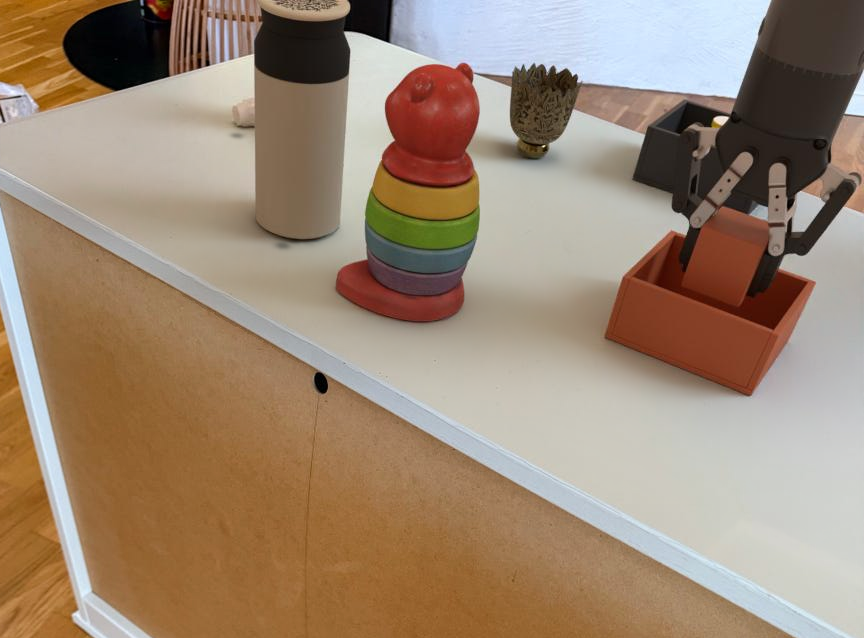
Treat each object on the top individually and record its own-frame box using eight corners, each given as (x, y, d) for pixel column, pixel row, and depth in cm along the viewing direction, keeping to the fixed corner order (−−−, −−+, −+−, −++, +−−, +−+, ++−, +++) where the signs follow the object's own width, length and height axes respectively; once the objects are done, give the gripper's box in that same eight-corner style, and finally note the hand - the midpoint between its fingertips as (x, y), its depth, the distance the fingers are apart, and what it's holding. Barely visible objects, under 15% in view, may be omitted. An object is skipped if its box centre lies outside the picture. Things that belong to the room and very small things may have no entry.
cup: (493, 138, 105) (507, 59, 99) (555, 142, 106) (572, 64, 100) (506, 166, 100) (521, 85, 94) (570, 169, 102) (589, 89, 96)
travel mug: (357, 226, 88) (373, 5, 74) (297, 250, 83) (303, 21, 70) (298, 195, 91) (304, -22, 77) (238, 217, 87) (232, -9, 73)
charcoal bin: (776, 185, 104) (797, 134, 100) (745, 218, 98) (767, 164, 93) (668, 150, 108) (684, 99, 104) (632, 179, 101) (647, 125, 97)
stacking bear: (416, 253, 85) (444, 33, 72) (493, 302, 81) (538, 77, 67) (325, 284, 80) (337, 53, 67) (402, 338, 76) (431, 102, 62)
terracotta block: (756, 284, 77) (781, 225, 73) (737, 307, 74) (763, 247, 70) (700, 264, 79) (722, 205, 75) (680, 286, 76) (702, 226, 72)
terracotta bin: (788, 340, 82) (816, 281, 77) (750, 396, 75) (779, 335, 71) (651, 288, 85) (671, 229, 81) (603, 337, 79) (622, 276, 75)
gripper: (927, 65, 64) (815, 295, 76) (730, 11, 68) (656, 237, 81) (905, 92, 59) (790, 331, 72) (696, 32, 63) (623, 268, 76)
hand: (720, 280), depth 76 cm, fingers closed on terracotta block, 5 cm apart
